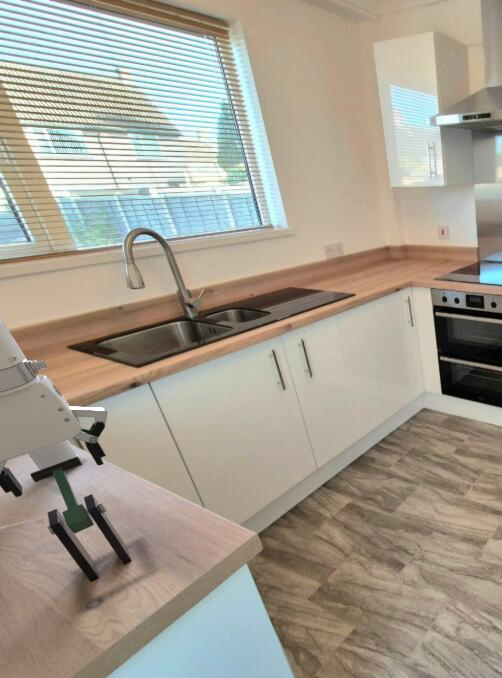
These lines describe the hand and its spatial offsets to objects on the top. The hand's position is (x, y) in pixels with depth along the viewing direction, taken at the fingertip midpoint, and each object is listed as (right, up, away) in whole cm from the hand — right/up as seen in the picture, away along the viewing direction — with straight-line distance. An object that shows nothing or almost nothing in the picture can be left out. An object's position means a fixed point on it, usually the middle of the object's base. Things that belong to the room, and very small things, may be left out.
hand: (61, 476), depth 68 cm
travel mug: (-28, -4, +27) cm, 39 cm away
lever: (+3, -3, -2) cm, 5 cm away
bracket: (+8, -15, 0) cm, 17 cm away
